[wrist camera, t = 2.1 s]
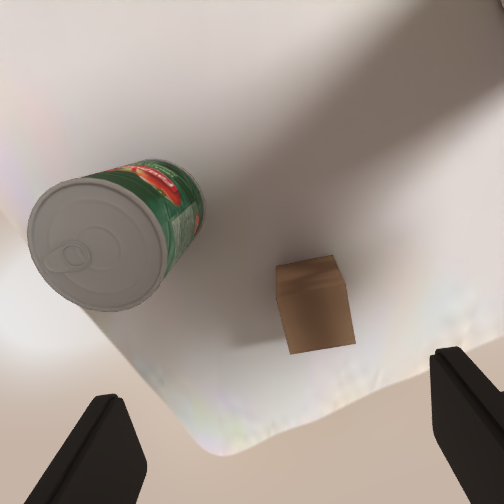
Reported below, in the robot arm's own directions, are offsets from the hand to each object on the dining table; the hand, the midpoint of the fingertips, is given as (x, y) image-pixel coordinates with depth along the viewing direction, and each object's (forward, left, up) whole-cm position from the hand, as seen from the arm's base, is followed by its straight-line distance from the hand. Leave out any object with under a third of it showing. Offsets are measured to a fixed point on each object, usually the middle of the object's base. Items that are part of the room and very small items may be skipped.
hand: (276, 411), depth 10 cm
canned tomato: (+9, -4, -21) cm, 23 cm away
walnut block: (-2, +6, -20) cm, 21 cm away
